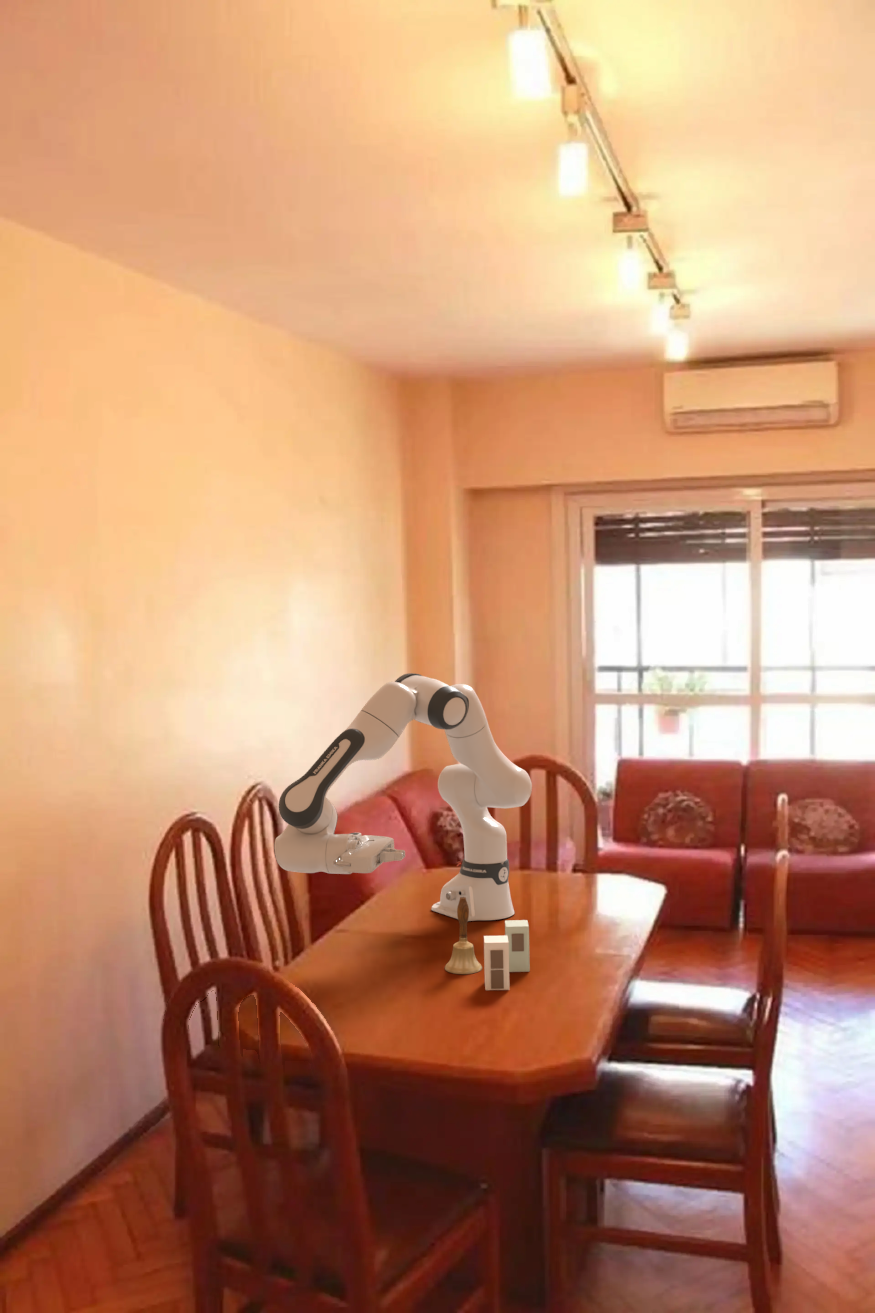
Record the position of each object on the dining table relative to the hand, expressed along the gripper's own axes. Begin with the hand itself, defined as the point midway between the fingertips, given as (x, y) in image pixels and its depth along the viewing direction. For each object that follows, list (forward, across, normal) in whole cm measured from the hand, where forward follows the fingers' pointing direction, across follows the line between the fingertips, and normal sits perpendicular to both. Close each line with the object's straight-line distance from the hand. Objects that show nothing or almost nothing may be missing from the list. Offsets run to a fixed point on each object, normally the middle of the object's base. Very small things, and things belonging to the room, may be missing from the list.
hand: (403, 855), depth 254 cm
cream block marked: (+22, -11, +25) cm, 35 cm away
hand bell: (+13, -1, +25) cm, 28 cm away
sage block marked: (+25, +2, +25) cm, 35 cm away
